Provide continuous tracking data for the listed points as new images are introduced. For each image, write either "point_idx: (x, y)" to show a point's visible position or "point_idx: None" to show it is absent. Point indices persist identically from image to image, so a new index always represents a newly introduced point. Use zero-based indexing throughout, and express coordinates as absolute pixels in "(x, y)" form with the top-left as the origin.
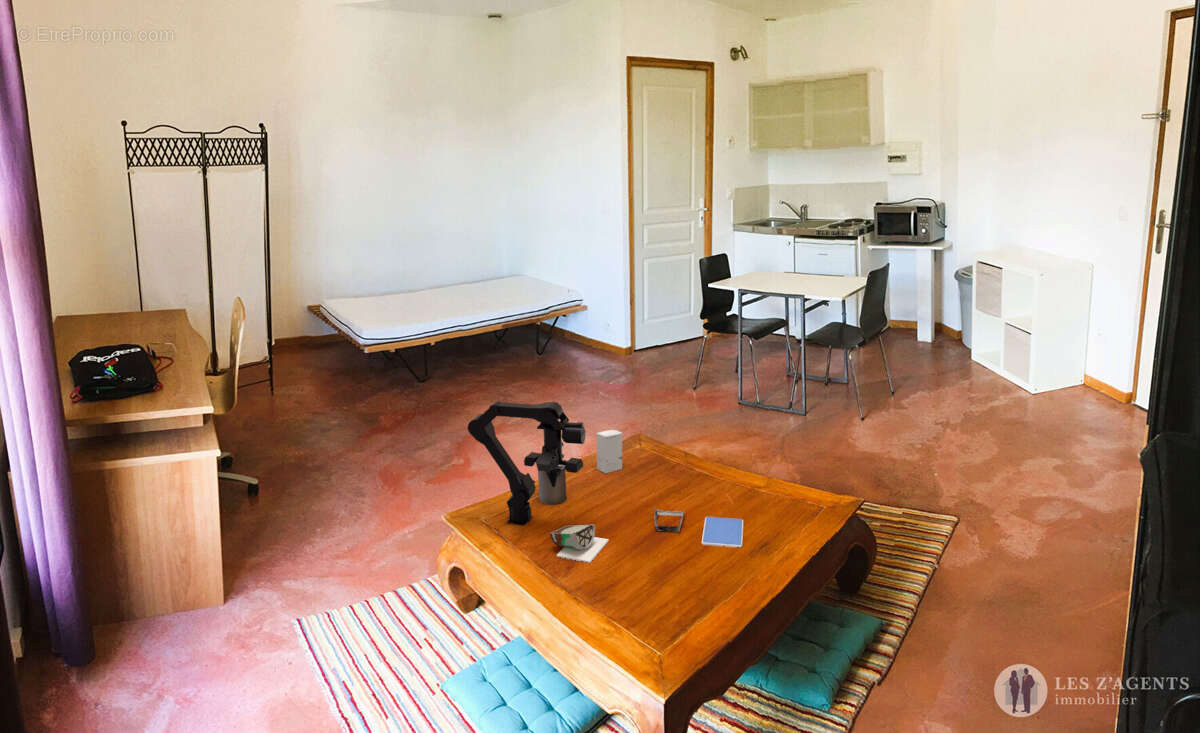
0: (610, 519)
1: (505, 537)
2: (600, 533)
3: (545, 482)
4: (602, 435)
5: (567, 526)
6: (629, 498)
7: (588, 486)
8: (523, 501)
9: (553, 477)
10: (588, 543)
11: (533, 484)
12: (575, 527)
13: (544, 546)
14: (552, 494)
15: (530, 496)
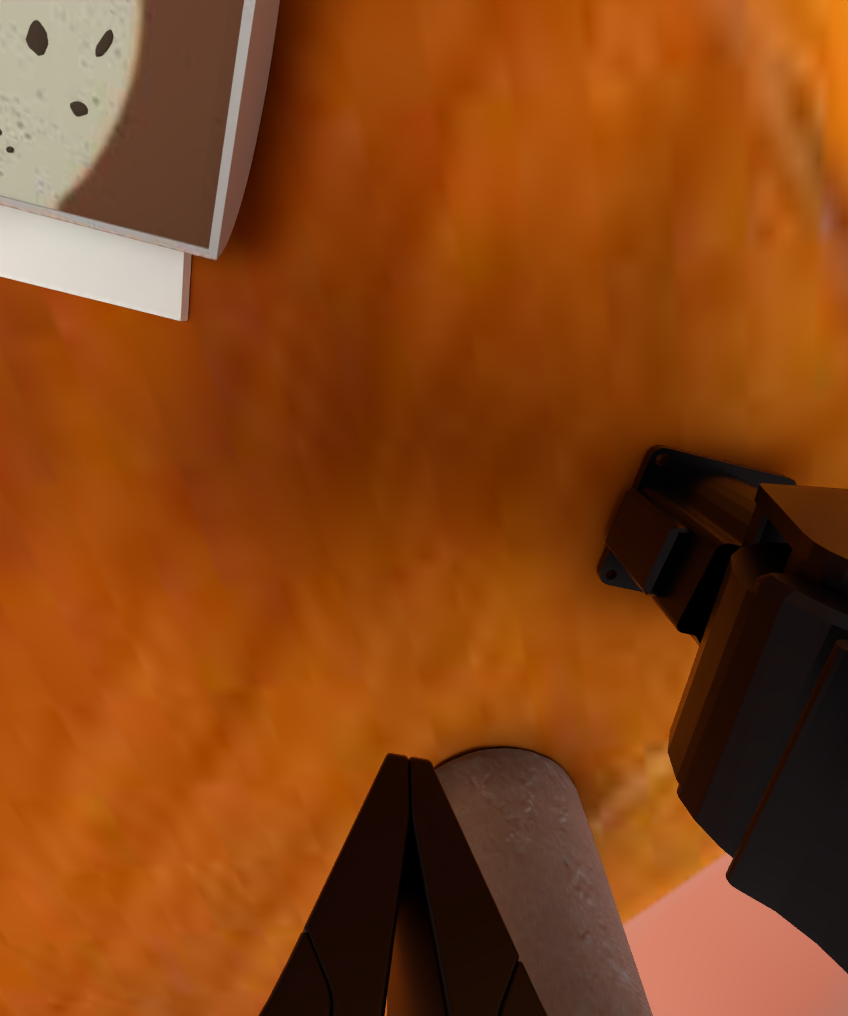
0: (41, 608)
1: (808, 200)
2: (11, 385)
3: (567, 922)
4: None
5: (185, 220)
6: (52, 850)
7: None
8: (802, 517)
9: (378, 995)
10: None
11: (737, 831)
12: (16, 90)
13: (416, 34)
14: (492, 815)
15: (733, 599)
